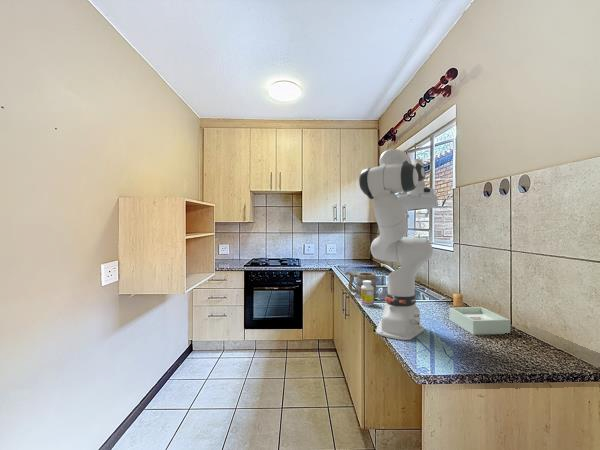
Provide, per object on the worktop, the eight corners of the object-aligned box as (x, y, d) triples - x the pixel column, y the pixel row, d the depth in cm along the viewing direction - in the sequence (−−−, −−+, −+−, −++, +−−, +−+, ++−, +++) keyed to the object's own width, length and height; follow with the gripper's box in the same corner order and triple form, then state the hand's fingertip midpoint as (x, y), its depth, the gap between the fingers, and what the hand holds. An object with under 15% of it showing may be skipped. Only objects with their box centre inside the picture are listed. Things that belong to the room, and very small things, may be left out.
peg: (462, 316, 138) (462, 295, 138) (453, 315, 140) (452, 294, 140) (463, 314, 141) (463, 294, 141) (454, 313, 143) (453, 293, 143)
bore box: (510, 333, 117) (510, 319, 117) (473, 334, 116) (473, 320, 116) (481, 318, 135) (481, 306, 135) (449, 319, 134) (449, 307, 134)
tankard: (380, 295, 180) (379, 271, 179) (373, 300, 169) (372, 274, 169) (349, 292, 191) (349, 269, 190) (341, 296, 180) (341, 272, 180)
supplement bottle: (359, 302, 165) (359, 280, 165) (371, 302, 165) (370, 279, 165) (363, 306, 158) (363, 282, 158) (375, 305, 159) (374, 282, 159)
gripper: (394, 192, 155) (394, 218, 155) (436, 188, 144) (437, 216, 144) (397, 193, 161) (397, 218, 160) (437, 189, 150) (438, 216, 149)
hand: (416, 217), depth 152 cm, fingers open, 8 cm apart
